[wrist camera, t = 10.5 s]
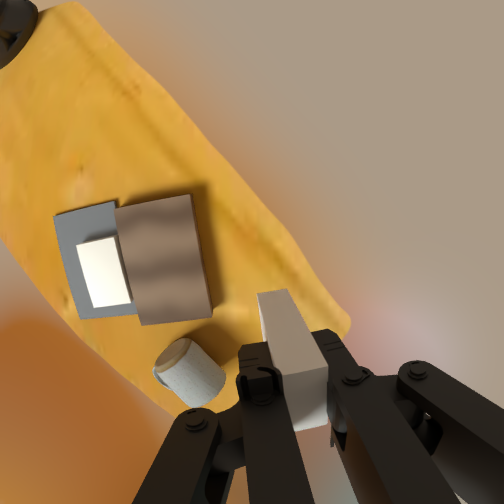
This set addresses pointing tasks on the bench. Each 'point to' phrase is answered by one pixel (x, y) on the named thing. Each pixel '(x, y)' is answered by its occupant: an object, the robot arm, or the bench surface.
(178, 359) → the ceramic mug
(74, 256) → the mat
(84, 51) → the bench surface
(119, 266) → the white rectangular block
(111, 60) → the bench surface
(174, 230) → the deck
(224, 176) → the bench surface
